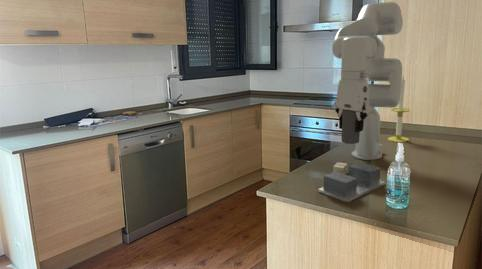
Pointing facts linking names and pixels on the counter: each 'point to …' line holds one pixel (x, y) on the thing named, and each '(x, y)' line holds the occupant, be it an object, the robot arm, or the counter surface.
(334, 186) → the board
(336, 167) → the loose block
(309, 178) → the counter surface
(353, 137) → the bottle
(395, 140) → the candle
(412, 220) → the counter surface
